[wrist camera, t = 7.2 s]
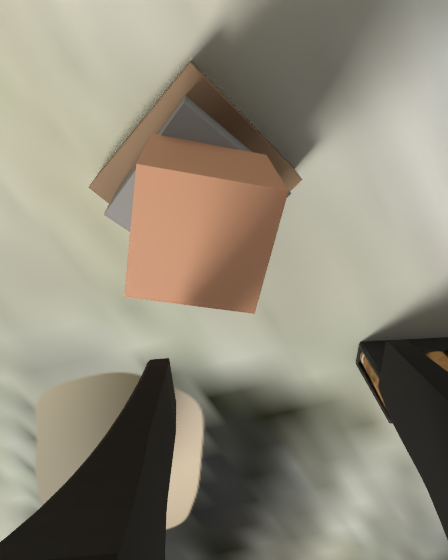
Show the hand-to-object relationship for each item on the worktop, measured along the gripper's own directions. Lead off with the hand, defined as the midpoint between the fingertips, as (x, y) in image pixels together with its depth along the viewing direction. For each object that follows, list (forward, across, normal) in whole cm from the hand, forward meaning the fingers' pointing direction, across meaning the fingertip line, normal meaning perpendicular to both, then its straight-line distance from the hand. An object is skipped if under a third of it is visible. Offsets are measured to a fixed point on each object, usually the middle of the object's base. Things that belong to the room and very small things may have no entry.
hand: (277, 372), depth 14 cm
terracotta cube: (+6, +2, -4) cm, 8 cm away
